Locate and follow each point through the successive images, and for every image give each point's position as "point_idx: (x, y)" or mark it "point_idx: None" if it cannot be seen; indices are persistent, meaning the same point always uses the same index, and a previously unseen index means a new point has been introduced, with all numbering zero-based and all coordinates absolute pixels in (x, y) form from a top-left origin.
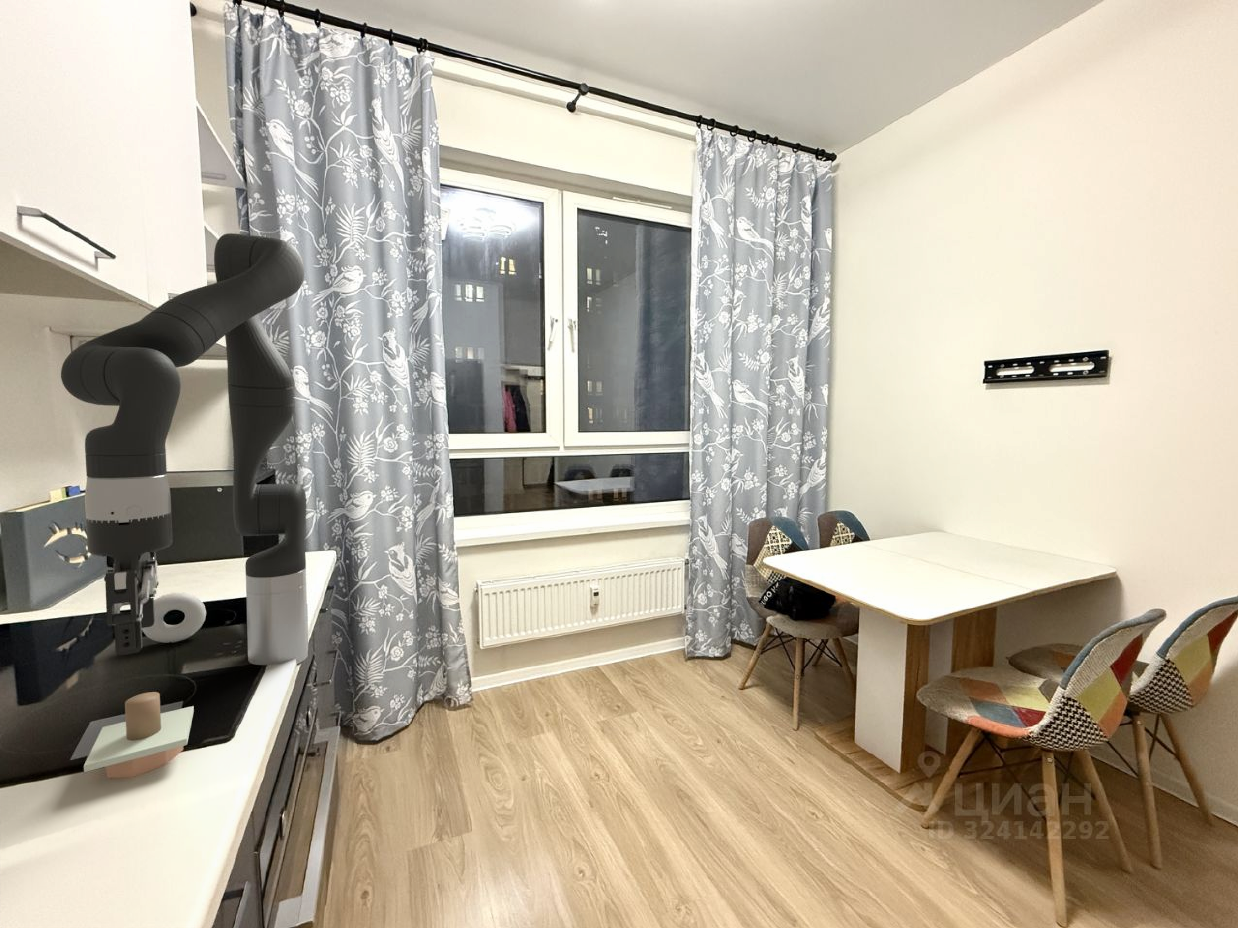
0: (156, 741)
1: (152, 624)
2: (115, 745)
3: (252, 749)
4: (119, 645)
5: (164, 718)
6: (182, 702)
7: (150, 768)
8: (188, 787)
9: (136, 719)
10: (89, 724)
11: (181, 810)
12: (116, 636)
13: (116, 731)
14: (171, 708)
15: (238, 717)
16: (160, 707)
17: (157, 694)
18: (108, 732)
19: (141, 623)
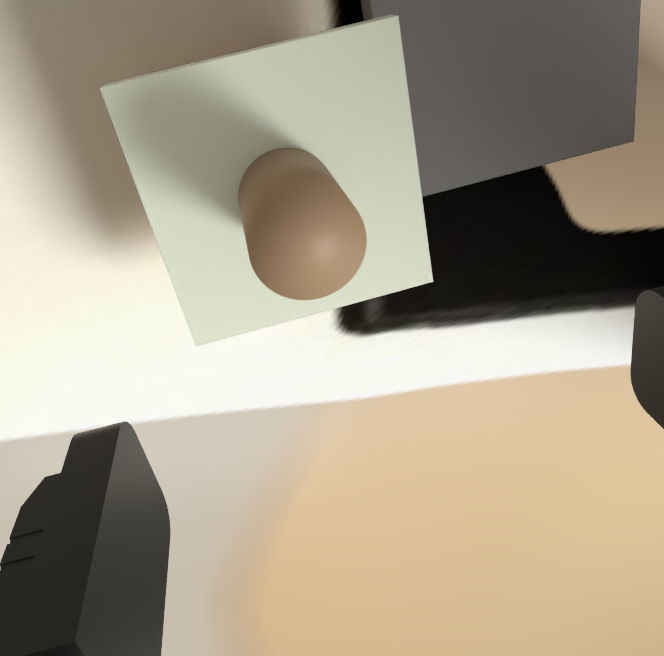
0: (206, 263)
1: (641, 393)
2: (223, 135)
3: (273, 398)
4: (11, 533)
5: (373, 222)
6: (621, 143)
7: None
8: (135, 311)
9: (243, 223)
10: None
11: (32, 333)
12: (38, 557)
13: (336, 90)
14: (592, 123)
15: (473, 311)
16: (623, 80)
17: (329, 287)
18: (341, 60)
19: (656, 354)
